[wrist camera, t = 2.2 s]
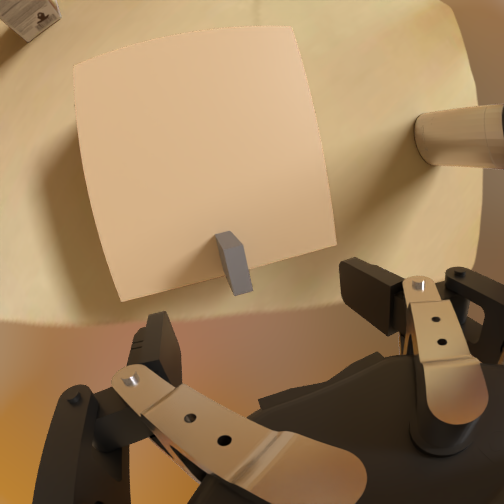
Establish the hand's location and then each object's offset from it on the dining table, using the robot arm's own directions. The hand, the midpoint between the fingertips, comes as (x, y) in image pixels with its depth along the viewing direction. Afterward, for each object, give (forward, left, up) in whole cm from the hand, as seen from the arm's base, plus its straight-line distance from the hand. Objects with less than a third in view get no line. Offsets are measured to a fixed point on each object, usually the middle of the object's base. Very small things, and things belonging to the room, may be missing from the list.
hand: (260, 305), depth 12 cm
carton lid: (0, -8, -11) cm, 14 cm away
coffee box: (+20, -40, -21) cm, 49 cm away
